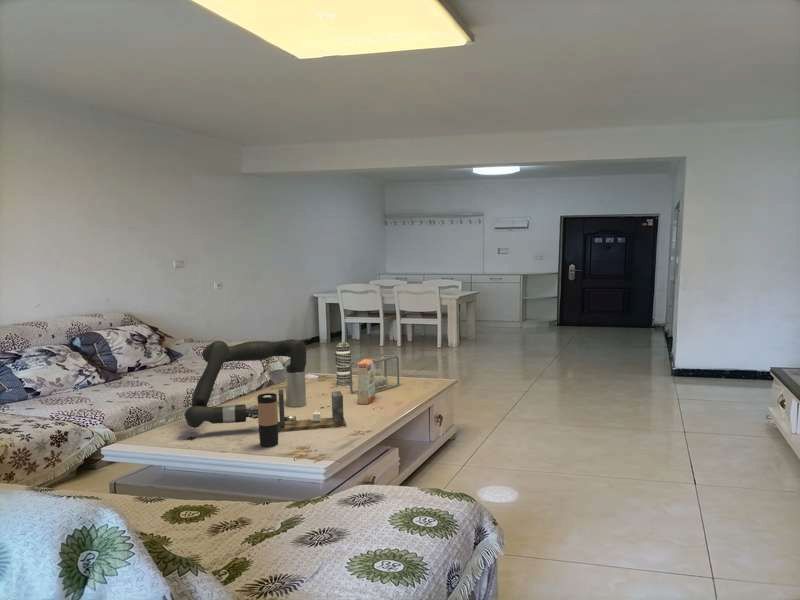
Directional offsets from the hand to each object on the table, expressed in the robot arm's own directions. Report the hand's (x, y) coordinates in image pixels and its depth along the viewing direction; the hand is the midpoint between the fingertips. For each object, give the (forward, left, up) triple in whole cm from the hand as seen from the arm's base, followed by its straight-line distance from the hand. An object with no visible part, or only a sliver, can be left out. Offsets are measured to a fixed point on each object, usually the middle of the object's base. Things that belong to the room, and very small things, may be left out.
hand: (275, 410), depth 264 cm
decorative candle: (-34, +79, -8) cm, 86 cm away
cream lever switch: (+10, +15, -6) cm, 19 cm away
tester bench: (+9, +11, -8) cm, 16 cm away
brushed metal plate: (+3, +4, -6) cm, 8 cm away
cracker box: (+1, +59, -8) cm, 59 cm away
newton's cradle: (-12, +81, -8) cm, 82 cm away
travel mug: (+15, -16, -8) cm, 24 cm away
